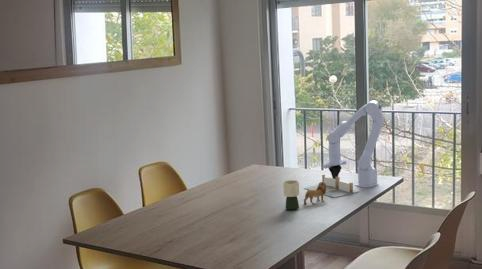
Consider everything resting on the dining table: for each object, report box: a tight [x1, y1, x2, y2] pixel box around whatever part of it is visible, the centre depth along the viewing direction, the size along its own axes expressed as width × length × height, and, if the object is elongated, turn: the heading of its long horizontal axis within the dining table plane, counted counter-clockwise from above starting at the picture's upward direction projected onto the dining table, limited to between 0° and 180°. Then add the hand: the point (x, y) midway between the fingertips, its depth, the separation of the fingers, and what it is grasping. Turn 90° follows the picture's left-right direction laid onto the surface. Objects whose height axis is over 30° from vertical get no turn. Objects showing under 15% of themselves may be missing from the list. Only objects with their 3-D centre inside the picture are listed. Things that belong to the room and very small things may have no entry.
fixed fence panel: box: [336, 176, 354, 193], centre depth 305 cm, size 12×2×6 cm, turn 31°
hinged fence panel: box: [321, 174, 336, 187], centre depth 315 cm, size 11×2×5 cm, turn 31°
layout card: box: [303, 184, 360, 199], centre depth 308 cm, size 16×24×1 cm, turn 31°
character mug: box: [282, 179, 300, 211], centre depth 279 cm, size 11×7×13 cm, turn 20°
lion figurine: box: [303, 181, 326, 206], centre depth 288 cm, size 15×5×9 cm, turn 131°
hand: (335, 179), depth 319 cm, fingers closed
